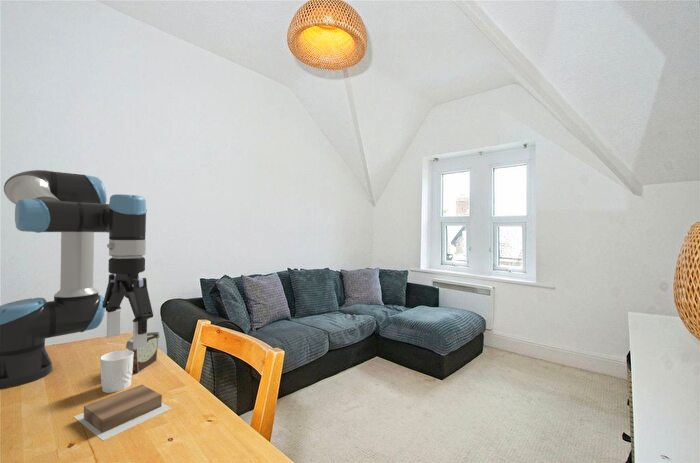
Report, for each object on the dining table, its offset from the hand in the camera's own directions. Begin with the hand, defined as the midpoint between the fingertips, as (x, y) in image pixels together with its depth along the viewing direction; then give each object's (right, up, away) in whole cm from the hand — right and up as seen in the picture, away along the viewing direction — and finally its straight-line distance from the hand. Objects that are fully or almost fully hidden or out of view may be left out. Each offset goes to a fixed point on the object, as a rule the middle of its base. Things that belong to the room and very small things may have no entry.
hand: (126, 341), depth 80 cm
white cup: (-12, -19, +13) cm, 25 cm away
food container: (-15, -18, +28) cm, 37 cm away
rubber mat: (-1, -19, 0) cm, 19 cm away
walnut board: (-1, -18, 0) cm, 18 cm away
